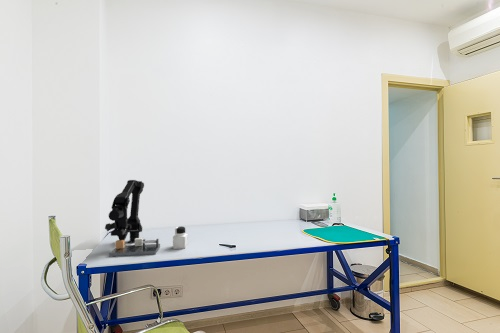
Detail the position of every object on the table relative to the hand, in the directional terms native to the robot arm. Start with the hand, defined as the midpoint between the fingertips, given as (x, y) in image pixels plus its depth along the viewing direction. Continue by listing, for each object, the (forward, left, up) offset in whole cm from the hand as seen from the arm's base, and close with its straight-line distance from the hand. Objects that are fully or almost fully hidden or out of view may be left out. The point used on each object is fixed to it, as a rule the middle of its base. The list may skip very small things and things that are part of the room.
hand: (121, 244), depth 158 cm
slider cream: (0, +9, -1) cm, 10 cm away
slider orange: (+3, 0, -1) cm, 3 cm away
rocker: (+5, +17, +2) cm, 18 cm away
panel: (+5, +9, -3) cm, 11 cm away
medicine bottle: (0, +33, -4) cm, 33 cm away
